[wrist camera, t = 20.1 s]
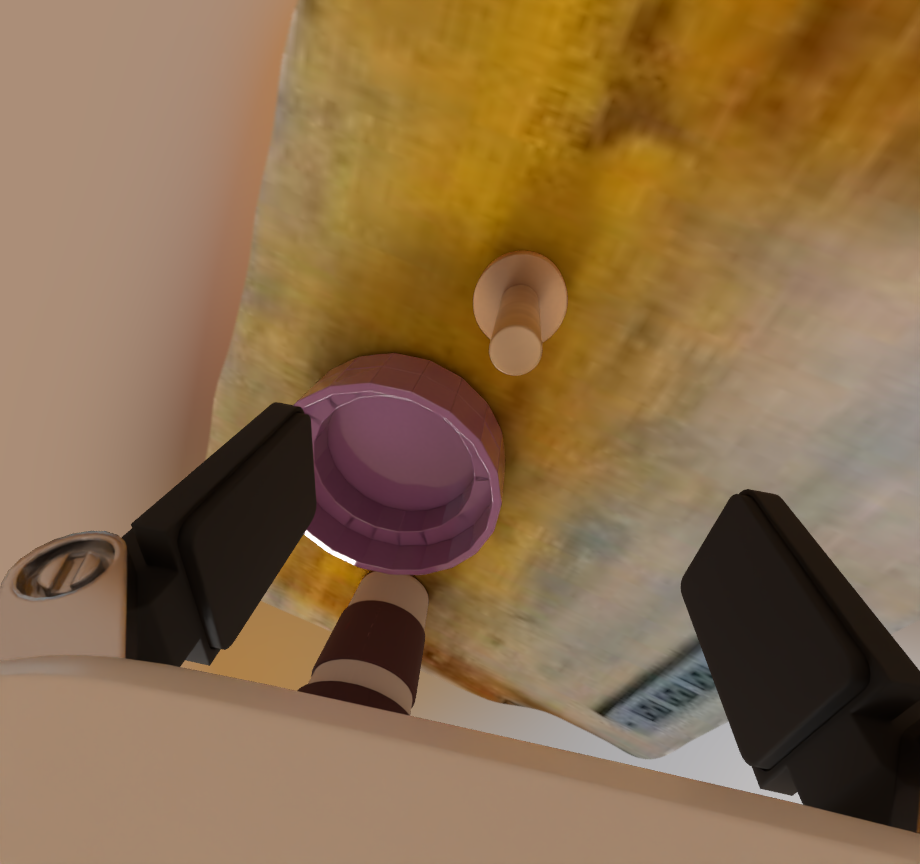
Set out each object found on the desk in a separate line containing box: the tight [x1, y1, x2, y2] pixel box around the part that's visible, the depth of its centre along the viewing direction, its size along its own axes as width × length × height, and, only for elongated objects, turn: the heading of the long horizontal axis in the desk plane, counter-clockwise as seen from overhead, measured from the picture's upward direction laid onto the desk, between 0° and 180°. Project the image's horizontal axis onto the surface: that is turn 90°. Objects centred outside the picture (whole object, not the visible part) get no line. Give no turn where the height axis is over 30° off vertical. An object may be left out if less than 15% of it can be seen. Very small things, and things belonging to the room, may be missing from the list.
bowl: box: [294, 353, 506, 575], centre depth 32 cm, size 16×16×6 cm
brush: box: [473, 250, 568, 376], centre depth 22 cm, size 5×5×11 cm
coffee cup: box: [298, 571, 429, 716], centre depth 37 cm, size 10×10×15 cm
